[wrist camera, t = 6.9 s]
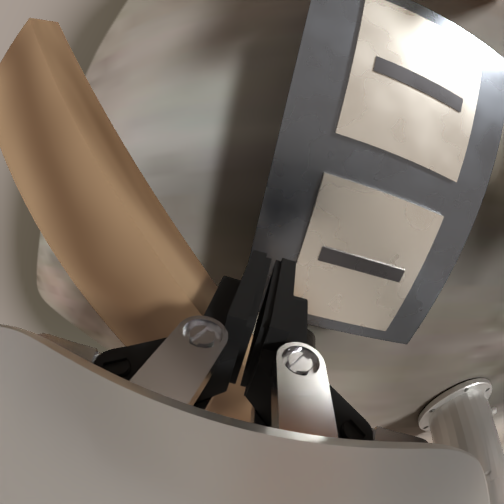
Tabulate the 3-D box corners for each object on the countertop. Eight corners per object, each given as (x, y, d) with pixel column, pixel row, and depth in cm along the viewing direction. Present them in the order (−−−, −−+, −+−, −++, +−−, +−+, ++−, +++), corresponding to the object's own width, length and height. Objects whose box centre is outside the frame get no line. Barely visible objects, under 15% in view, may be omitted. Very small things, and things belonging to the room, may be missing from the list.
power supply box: (464, 71, 12) (514, 63, 7) (388, 295, 22) (408, 348, 16) (314, 8, 13) (318, -34, 7) (253, 260, 22) (236, 310, 17)
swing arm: (58, 22, 7) (29, 17, 5) (335, 436, 16) (335, 459, 14) (10, 91, 9) (-17, 95, 7) (274, 446, 18) (270, 467, 16)
